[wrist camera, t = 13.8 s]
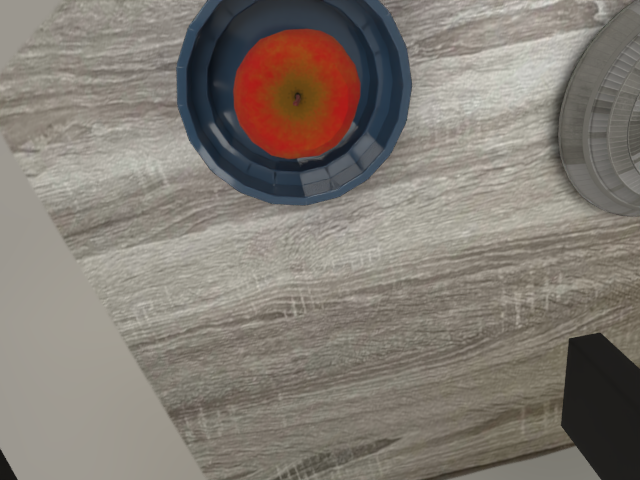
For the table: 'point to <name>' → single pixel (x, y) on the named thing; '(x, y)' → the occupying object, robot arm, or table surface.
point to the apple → (296, 93)
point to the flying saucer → (606, 118)
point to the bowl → (218, 101)
